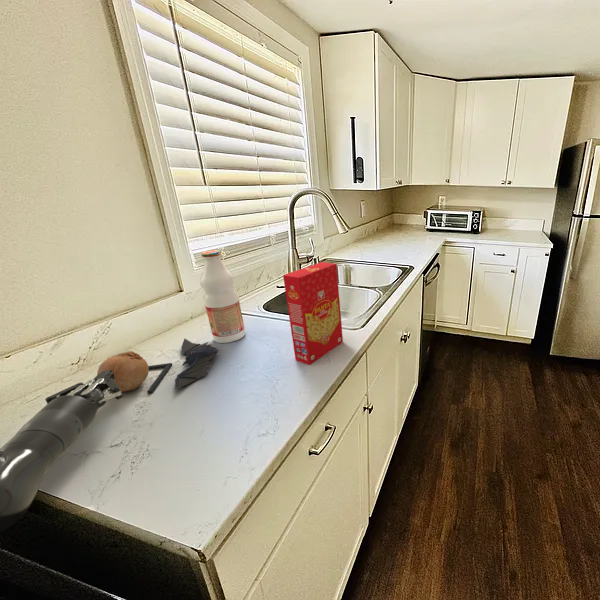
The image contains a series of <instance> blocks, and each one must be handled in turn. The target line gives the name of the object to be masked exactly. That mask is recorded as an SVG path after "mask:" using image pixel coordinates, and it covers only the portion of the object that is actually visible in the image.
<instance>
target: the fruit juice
mask: <svg viewBox="0 0 600 600" xmlns="http://www.w3.org/2000/svg"><path fill="white" fill-rule="evenodd" d="M201 257H202V259H203V260H204V261H203V271H202V274H201V276H200V277H199V284H200V287H201V289H202V291H203V302H204V307H205V311H206V315H207V318H208V323H209V327H210V332H211V335H212V338H213V340H214V341H215V342H216V343H219V344H228V343H233V342H236V341H238V340H240V339H242V338H244V337H245V335H246V328H245V327H246V326H245V323H244V318H243V314H242V309H241V303H240V297H239V294H238V291H237V289H236V288H235V277H234V275H233V273H232V272H231V271H230V270H229V269H228V268H227V267H226V265H225V264H224V262H223V260H222V258H221V257H222V253H221V251H220V250H218V249H215V250H214V249H212V250H211V249H210V250H206V251H202V252H201Z"/></svg>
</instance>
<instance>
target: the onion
mask: <svg viewBox="0 0 600 600" xmlns="http://www.w3.org/2000/svg"><path fill="white" fill-rule="evenodd" d="M148 366H149V364H148V362H147V361H146V359H145V358H144V357H143V356H141V355H140V354H139V353H138V352H135V351H132V350H129V351H125V352H121V353H119V354H116V355H113V356H110V357H107V358H106V359H105V360H103V362H101V364H100V365H99V367H98V369H97V373H96V376H97V375H98V374H100V373H101V372H102V371H106V370H112V372H113V373H114V376H115V378H114V379H113V380H114V382H115V383H116V384H117V385H118V386H119V388H120V391H121V393H122V392H123V393H125V392H129V391H135V390H136V388H138V387H140V386H142V385H143V383H144V382H145V381H146V380H147V378H148V376H149V371H150V370H149V367H148Z"/></svg>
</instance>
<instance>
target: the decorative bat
mask: <svg viewBox="0 0 600 600" xmlns="http://www.w3.org/2000/svg"><path fill="white" fill-rule="evenodd" d="M213 345H214V344H209V341H206V342H204V343H201V344H200V343H194V342H192V341H190V340H188V339H187V338H184V339H183V341H182V344H181V353H180V354H182V355H186V356H185V357H184V361H183V363H182V366H185V365H190V366H188V367H187V368H185V369H184V370H183V371H181V372H179V373H178V374H177V375H176V377H175V379H174V390H177V389H180V388H182V387H184V386H186V385H189V384H191V383H193V382H194V381H196V380H199V379H200V378H202V377H204V376H207V375H208V374H209V372H208V370H207V369H206V368H208V367H212V366H213V365H214V364H213V363H212V362H211V361H210V360H211V359H212V358H214V357H215V355H217V353H218V352H219V349H218V348H216V347H213Z"/></svg>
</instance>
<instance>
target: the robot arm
mask: <svg viewBox="0 0 600 600" xmlns="http://www.w3.org/2000/svg"><path fill="white" fill-rule="evenodd" d="M114 378H115V376H114V373H113V372H112V370H106V371H102V372H101V373H100V374H98V375H97V374H96V376H94V378H92V379H89V380H87V381H86V382H85V383H84V382H78V383H75V384H74V385H72V386H69V387H67V388H65V389H63V390H60V391H58V392H55V393H54V394H51V395H49V396H47V397H46V398H45V399H44V400H45V402H46V405H45V406H44V407H42V408H41V409H40V410H39V411H38V412H37V413H36V414H34V416H32V417H31V418H30V419H29V420H28V421H27V422H25V423H24V425H22V427H20V429H18V431H17V433H16V434H15V435H14V436H13V437H12V438H10V439H9V440H8V441H7V442H6V443H5V444H4V445H3V446H2V447H1V448H0V533H2V532H5V531H6V530H7V529H9V528H11V527H12V526H13V525H15V524H16V523H17V522H18V521H19V520H20V519H21V518H22V517H23V516H24V515H25V514H26V513H27V512H28V510H29V508H30V507H31V505H32V504H33V501H34V500H35V497H36V495H37V492H38V491H39V488H40V487H41V484H42V482H43V479H44V477H45V474H46V473H47V472H48V470H49V469H50V468H52V466H53V465H54V464H55V462H57V460H58V459H59V458H60V457H61V456H62V454H63V453H65V452H66V451H67V450H68V449H70V447H72V445H73V444H74V443H75V442H76V441H77V439H78V438H79V437H80V436H81V435H82V434H83V433H84V431H85V430H87V428H88V426H90V424H91V423H92V422H93V421H94V420H95V418H96V415H97V413H98V410H99V409H100V408H101V407H104V405H106V403H107V401H109V400H112V399H115V401H116V400H117V401H118V400H121V399H122V398H124V396H123V394H122V392H121V391H120V388H119V386H118V385H117V384H116V383H115V382H114V380H113V379H114ZM105 392H106V393H105Z"/></svg>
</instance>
